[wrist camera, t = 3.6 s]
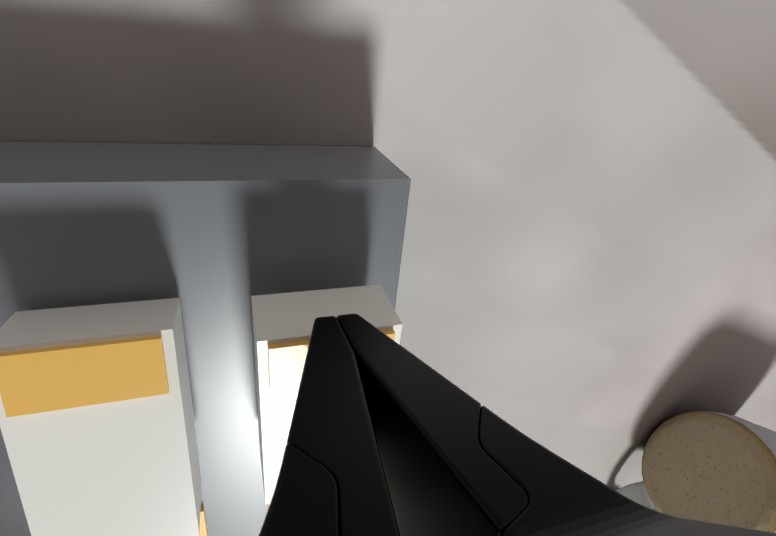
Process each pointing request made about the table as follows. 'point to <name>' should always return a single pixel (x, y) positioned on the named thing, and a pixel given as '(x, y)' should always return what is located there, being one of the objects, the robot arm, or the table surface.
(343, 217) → the switch unit
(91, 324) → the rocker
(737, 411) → the table surface
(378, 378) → the robot arm
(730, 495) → the ceramic mug
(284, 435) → the rocker
